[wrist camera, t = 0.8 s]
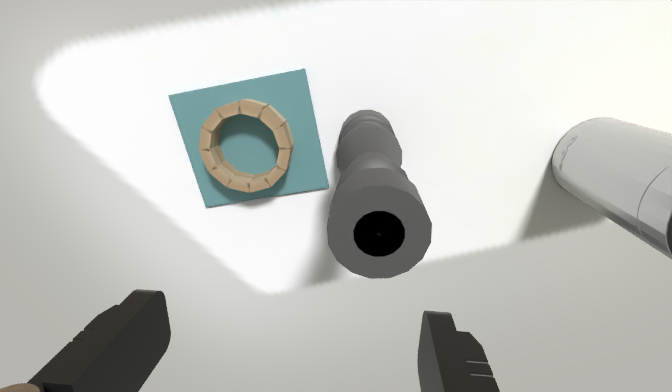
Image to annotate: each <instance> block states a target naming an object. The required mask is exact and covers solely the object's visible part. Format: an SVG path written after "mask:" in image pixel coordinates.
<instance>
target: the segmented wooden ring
mask: <svg viewBox="0 0 672 392" xmlns="http://www.w3.org/2000/svg"><path fill="white" fill-rule="evenodd" d="M268 105H269V104H268V103H264V102H260V101H256V100H252V99H248V98H247V99H246V98H245V99H242V100H239V101H236V102H233V103H229V104H226V105H224V106H221V107H219V108H216V109H215V110H214V111H213V112H212V114H211V115H210V116H209V117H208V119H207V120H206V121H205V122H204V124H203V125H202V127H201V132H200V142H199V149H200V150H199V152H200V154H201V157H202V159H203V161H204V163H205V166H206V168H207V170H208V171H210V172H209V173H210V174H211V175H212V176H214V177H215V178H216V179H217V180H218V181H220V182H221V183H222V184H223V185H224V186H226V187H227V186H228V188H231V189H235V190H239V191H244V192H248V193H249V192H250V193H251V192H255V191H258V190H262V189H266V188H270V187H272V185H273V184H274V183H275V182H276V181H277V180H278V179H279V178H280V177H281V176H282V175H283V174H284V173H285V172H286V170H287V168H288V167H289V165H290V163H291V158H292V153H293V148H294V139H293V136H292V133H291V130H290V127H289V124H288V121H286V119H285V118H284V117H283V116H282V115H281V114H280V113H279V112H278V111H277V110H275V109H274V108H273V107H272V106H271V105H269V106H268ZM240 113H241V114H245V115H249V116H253V117H257V118H259V119H260V120H261V121H263V122H264V123H265V124H266V125H267V126H268V127H269V128H270V129H271V130H272V131H273V132H274V135H275V138H276V141H277V144H278V146H279V153H278V159H277V164H276V165H275V166H274V167H273V168H272V169H271V170H270V171H267V172H263V173H259V174H256V175H254V174H250V173H246V172H242V171H238V170H237V169H236V168H235V167H234V166H232V165H231V164H230V163H229V162H228V161H227V160H225V157H224V155H223V153H222V150H221V148H220V145H219V138H220V130H221V126H222V125H223V124H224V123H225V121H226V120H227V119H228V118H229V117H230V116H233V115H236V114H240ZM285 121H286V122H285Z"/></svg>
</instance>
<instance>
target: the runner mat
mask: <svg viewBox="0 0 672 392" xmlns="http://www.w3.org/2000/svg"><path fill="white" fill-rule="evenodd" d="M168 96H169V99H170V102H171V105H172V108H173V111H174V114H175V117H176V120H177V123H178V126H179V129H180V132H181V135H182V138H183V141H184V144H185V147H186V150H187V153H188V156H189V159H190V162H191V165H192V168H193V170H194V173H195V176H196V179H197V182H198V185H199V188H200V191H201V194H202V197H203V200H204V203H205V206H206V207H208V206H214V205H221V204H227V203H233V202H240V201H246V200H252V199H259V198H265V197H271V196H278V195H284V194H290V193H297V192H303V191H309V190H315V189H322V188H328V187H329V184H328V180H327V175H326V170H325V165H324V160H323V155H322V150H321V145H320V140H319V135H318V130H317V125H316V121H315V116H314V111H313V106H312V101H311V96H310V91H309V86H308V81H307V76H306V71H305V69H301V70H296V71H291V72H285V73H280V74H275V75H270V76H265V77H260V78H255V79H250V80H245V81H240V82H234V83H229V84H224V85H219V86H214V87H209V88H204V89H199V90H194V91H189V92H184V93H178V94H173V95H168ZM245 98H246V99H247V98H248V99H252V100H256V101H260V102H264V103H268V104H269V105H271V106H272V107H273V108H274V109H275V110H277V111H278V112H279V113H280V114H281V115H282V116H283V117H284V118H285V119H286V121H288V124H289V127H290V130H291V133H292V136H293V139H294V148H293V153H292V158H291V163H290V165H289V167H288V168H287V170H286V172H285V173H284V174H283V175H282V176H281V177H280V178H279V179H278V180H277V181H276V182H275V183H274V184H273V185H272V187H270V188H266V189H262V190H258V191H255V192H251V193H250V192H249V193H248V192H244V191H239V190H235V189H231V188H228V186H227V187H226V186H224V185H223V184H222V183H221V182H220V181H218V180H217V179H216V178H215V177H214V176H212V175H211V174H210V173H209V172H210V171H208V170H207V168H206V166H205V163H204V161H203V159H202V157H201V154H200V152H199V150H200V149H199V142H200V132H201V127H202V125H203V124H204V122H205V121H206V120H207V119H208V117H209V116H210V115H211V114H212V112H213V111H214V110H215V109H216V108H219V107H221V106H224V105H226V104H229V103H233V102H236V101H239V100H242V99H245ZM269 105H268V106H269ZM286 121H285V122H286ZM219 145H220V148H221V150H222V153H223V155H224V157H225V160H227V161H228V162H229V163H230V164H231V165H232V166H234V167H235V168H236V169H237V170H238V171H242V172H246V173H250V174H254V175H256V174H259V173H263V172H267V171H270V170H271V169H272V168H273V167H274V166H275V165H276V164H277V159H278V153H279V146H278V144H277V141H276V138H275V135H274V132H273V131H272V130H271V129H270V128H269V127H268V126H267V125H266V124H265V123H264V122H263V121H261V120H260V119H259V118H257V117H253V116H249V115H245V114H241V113H240V114H236V115H233V116H230V117H229V118H228V119H227V120H226V121H225V123H224V124H223V125H222V126H221V130H220V138H219Z"/></svg>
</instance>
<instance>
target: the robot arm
mask: <svg viewBox="0 0 672 392" xmlns="http://www.w3.org/2000/svg"><path fill="white" fill-rule="evenodd" d="M552 171H553V175H554V177H555V180H556V181H557V182H558V184H559V185H560V186H561V187H562V188H564V189H565V190H566V191H568V192H569V193H571V194H572V195H574V196H575V197H577V198H578V199H580V200H581V201H583V202H584V203H586V204H587V205H589V206H590V207H592V208H594V209H595V210H597V211H598V212H600V213H601V214H603V215H604V216H606V217H607V218H609V219H610V220H612V221H613V222H615V223H617V224H618V225H620V226H621V227H623V228H624V229H626V230H627V231H629V232H630V233H632V234H633V235H635V236H636V237H638V238H640V239H641V240H643V241H644V242H646V243H647V244H649V245H650V246H652V247H653V248H655V249H657V250H658V251H660V252H662V253H663V254H664V255H666V256H667V257H669V258H670V259H672V134H670V133H666V132H662V131H658V130H654V129H651V128H647V127H643V126H639V125H636V124H632V123H628V122H624V121H620V120H616V119H612V118H596V119H591V120H588V121H585V122H582V123H581V124H579V125H577V126H575V127H574V128H572V129H571V130H570V131H569V132H568V133H566V135H565V136H564V137H563V138H562V139H561V140H560V142H559V144H558V145H557V147H556V149H555V152H554V155H553V159H552ZM170 336H171V330H170V324H169V318H168V312H167V306H166V300H165V295H164V293H163V292H162V291H153V290H139V289H138V290H134V291H133V292H132V293H131V294H130V295H129V296H128V297H127V298H126V299H125V300H124V301H123V302H122V303H121V304H120V305H114V306H113V307H111V308H109V309H108V310H106V311H104V312H102V313H101V314H99V315H98V316H97V317H95V318H94V319H93V320H92V321H91V322H90V323H89V324H88V325H87V326H86V327H85V328H84V331H81V332H80V333H79V334H78V335H77V336H76V337H75V338H73V341H72V342H69V343H68V344H67V345H66V346H65V347H64V348H63V349H62V350H61V351H60V352H59V353H58V354H57V355H56V356H55V357H53V358H52V359H51V360H50V361H49V362H48V363H47V364H46V365H45V366H44V367H43V368H42V369H41V370H40V371H39V372H38V373H37V374H36V375H35V376H34V377H33V378H32V379H30V380H29V381H28V382H27V383H21V384H15V385H11V386H8V387H5V388H2V389H0V392H138V391H139V390H140V388H141V387H142V385H143V384H144V382H145V381H146V380H147V378H148V377H149V375H150V374H151V372H152V371H153V369H154V368H155V366H156V365H157V363H158V362H159V360H160V359H161V358H162V356H163V355H164V353H165V352H166V350H167V348H168V345H169V342H170ZM418 374H419V380H420V387H421V392H500V391H499V388H498V386H497V383H496V381H495V378H493V373H492V371H491V368H490V365H488V360H487V358H486V355H485V353H484V350H483V348H482V346H481V345H480V343H478V341H477V340H476V339H475V338H474V337H473V336H472V335H471V334H470V333H469V332H460V331H456V327H455V325H454V321H453V318H452V315H451V313H448V312H435V311H424V313H423V318H422V325H421V334H420V341H419V349H418Z"/></svg>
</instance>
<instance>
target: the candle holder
mask: <svg viewBox="0 0 672 392" xmlns="http://www.w3.org/2000/svg"><path fill="white" fill-rule="evenodd" d="M401 164H402V150H401V147H400V145H399V143H398V140H397V138H396V137H395V134H394V132H393V129H392V127H391V125H390V123H389V121H388V120H387V119H386V118H385V117H384V116H383V115H382V114H381V113H378V112H376V111H373V110H360V111H358V112H356V113H354V114H351V115H350V116H349V117H348V118H347V119H346V121H345V122H344V123H343V126H342V129H341V131H340V136H339V147H338V150H337V167H338V169H339V171H340V173H341V178H340V180H339V183H338V186H337V189H336V192H335V194H334V197H333V200H332V202H331V206H330V212H329V218H328V225H327V231H328V245H329V247H330V248H331V250H332V252H333V254H334V256H335V258H336V260H337V261H338V262H339V263H341V264H342V265H343V266H344V267H346V268H347V269H348V270H349V271H351V272H352V273H355V274H358V275H361V276H364V277H367V278H390V277H394V276H396V275H399V274H402V273H404V272H407V271H409V270H410V269H411V268H412V267H413V266H415V265H416V264H417V263H418V262H419V261H420V260H422V259H423V257H424V255H425V253H426V251H427V249H428V247H429V245H430V243H431V229H432V223H431V221H430V218H429V216H428V214H427V211H426V209H425V207H424V204H423V202H422V200H421V198H420V196H419V193H418V191H417V189H416V187H415V185H414V184H413V183H412V182H410V181H409V180H408V177H407V175H406V173H405V171H404V170H403V169H401V168H400V166H401Z"/></svg>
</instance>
